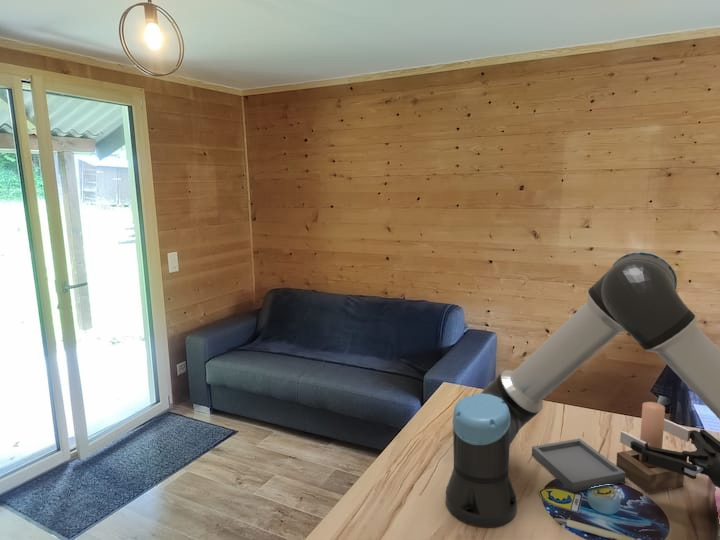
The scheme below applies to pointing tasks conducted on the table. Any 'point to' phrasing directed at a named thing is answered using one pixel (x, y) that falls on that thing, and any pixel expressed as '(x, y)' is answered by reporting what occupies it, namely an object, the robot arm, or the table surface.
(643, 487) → the socket block
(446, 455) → the table surface
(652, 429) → the dowel
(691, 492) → the table surface
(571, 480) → the tray
